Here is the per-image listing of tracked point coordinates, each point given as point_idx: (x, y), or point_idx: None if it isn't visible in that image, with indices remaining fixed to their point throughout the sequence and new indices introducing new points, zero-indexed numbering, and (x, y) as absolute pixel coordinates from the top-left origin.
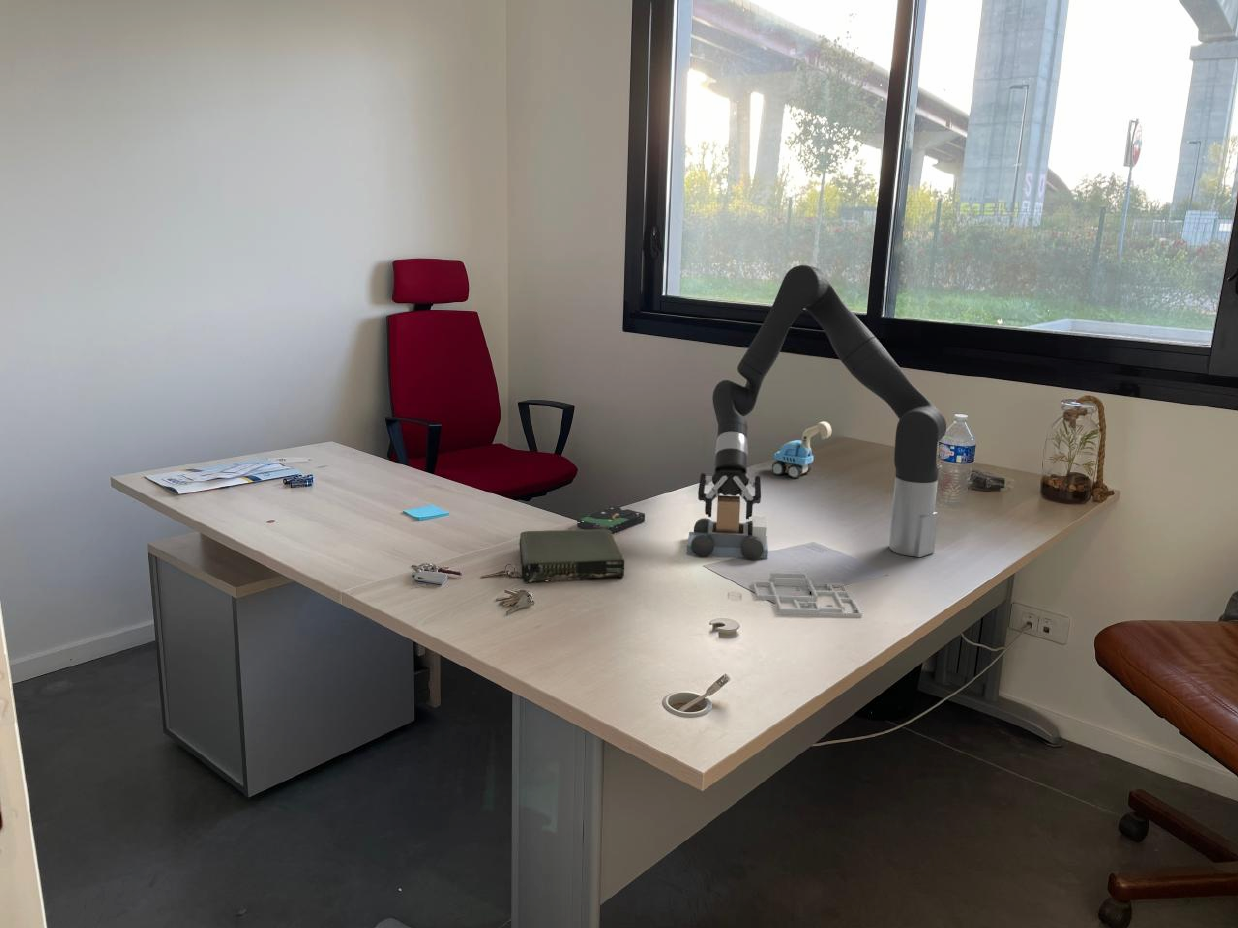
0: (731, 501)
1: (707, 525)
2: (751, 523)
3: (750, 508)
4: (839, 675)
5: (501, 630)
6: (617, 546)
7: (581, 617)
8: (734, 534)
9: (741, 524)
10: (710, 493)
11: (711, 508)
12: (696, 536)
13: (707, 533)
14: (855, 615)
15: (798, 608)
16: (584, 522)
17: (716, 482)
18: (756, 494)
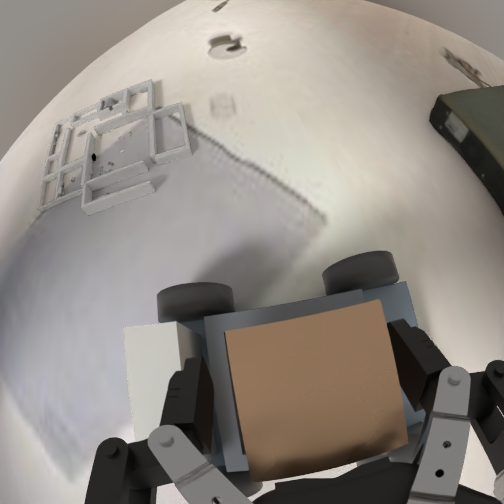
0: (288, 331)
1: None
2: None
3: (176, 396)
4: (124, 39)
5: (423, 31)
6: (493, 153)
7: (388, 42)
8: (258, 313)
9: None
10: (455, 397)
11: (402, 373)
12: (389, 262)
13: None
14: (63, 122)
15: (126, 89)
16: None
17: (463, 488)
18: (120, 461)
